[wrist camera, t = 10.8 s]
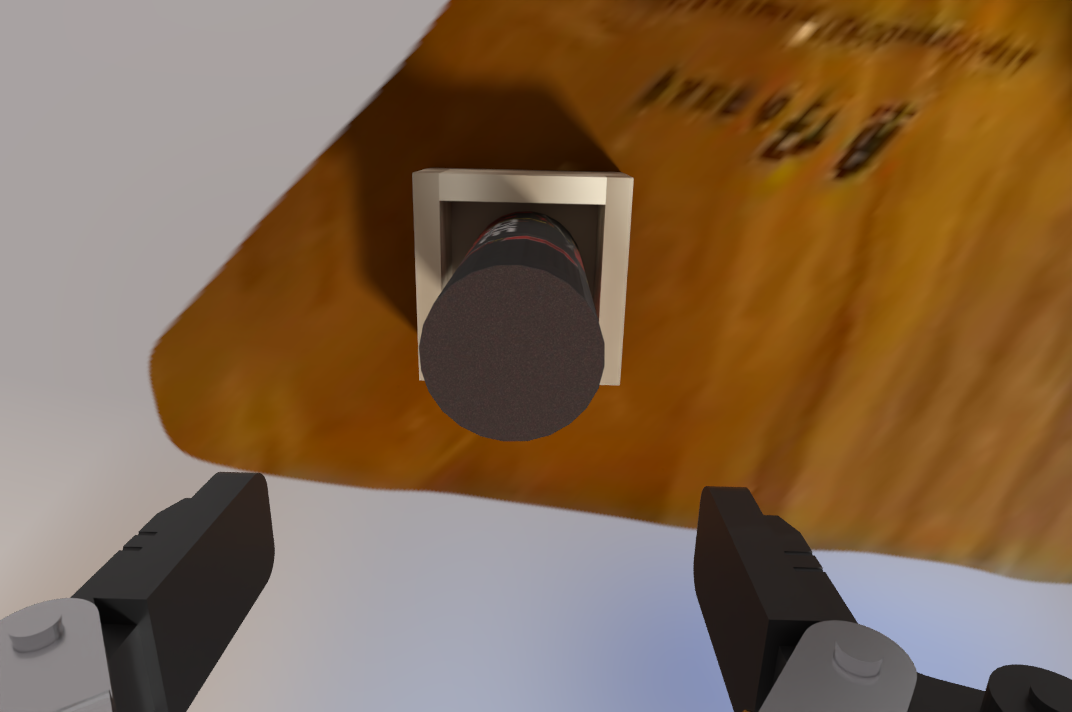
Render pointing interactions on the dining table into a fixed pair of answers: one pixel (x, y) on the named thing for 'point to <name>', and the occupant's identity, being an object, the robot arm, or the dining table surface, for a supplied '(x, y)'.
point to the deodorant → (515, 333)
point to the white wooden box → (567, 196)
